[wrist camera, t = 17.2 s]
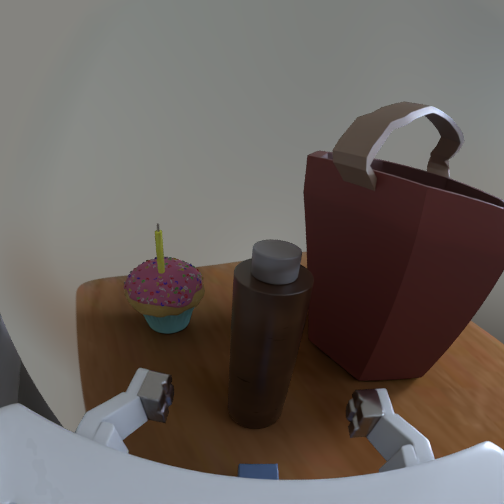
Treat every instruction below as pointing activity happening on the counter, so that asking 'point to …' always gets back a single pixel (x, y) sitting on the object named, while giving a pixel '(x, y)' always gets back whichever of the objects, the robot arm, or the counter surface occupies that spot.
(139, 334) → the counter surface
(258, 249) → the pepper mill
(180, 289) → the cupcake
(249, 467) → the blue stick
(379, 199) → the bucket
